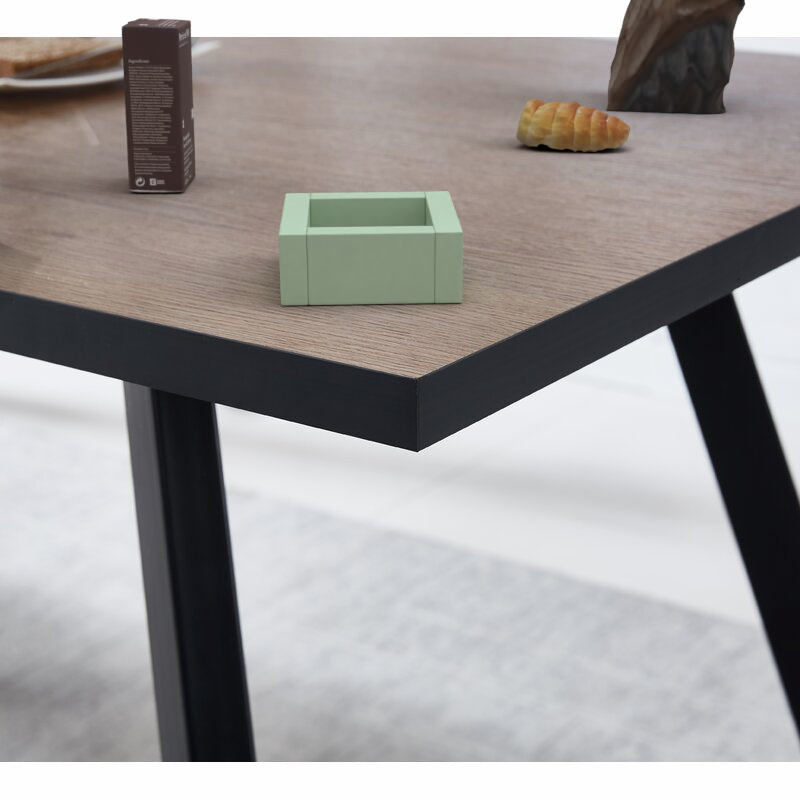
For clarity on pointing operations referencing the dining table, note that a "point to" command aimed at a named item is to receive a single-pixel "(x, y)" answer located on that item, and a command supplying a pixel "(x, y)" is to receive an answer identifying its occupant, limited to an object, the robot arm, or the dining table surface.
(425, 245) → the socket
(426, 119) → the dining table surface
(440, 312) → the dining table surface
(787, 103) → the dining table surface
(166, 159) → the box
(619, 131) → the pastry
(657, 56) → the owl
